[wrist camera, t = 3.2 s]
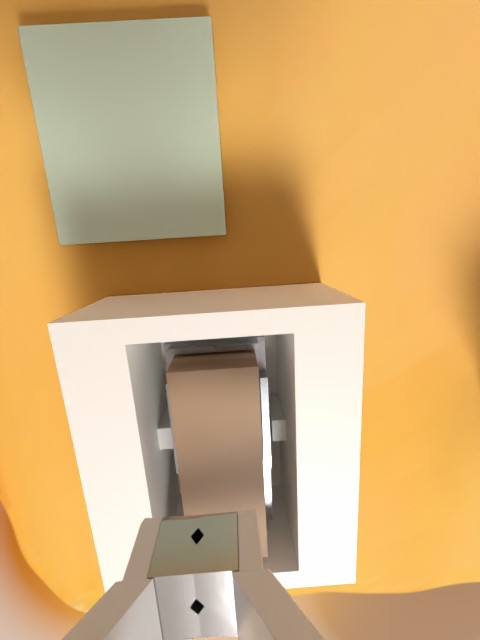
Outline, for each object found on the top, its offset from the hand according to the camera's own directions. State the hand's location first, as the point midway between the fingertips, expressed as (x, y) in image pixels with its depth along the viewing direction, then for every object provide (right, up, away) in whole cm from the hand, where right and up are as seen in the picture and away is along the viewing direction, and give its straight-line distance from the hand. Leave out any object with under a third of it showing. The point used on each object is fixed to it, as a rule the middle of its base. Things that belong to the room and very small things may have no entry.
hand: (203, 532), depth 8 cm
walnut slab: (0, -1, +10) cm, 10 cm away
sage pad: (-5, +16, +10) cm, 20 cm away
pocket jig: (0, 0, +14) cm, 14 cm away
